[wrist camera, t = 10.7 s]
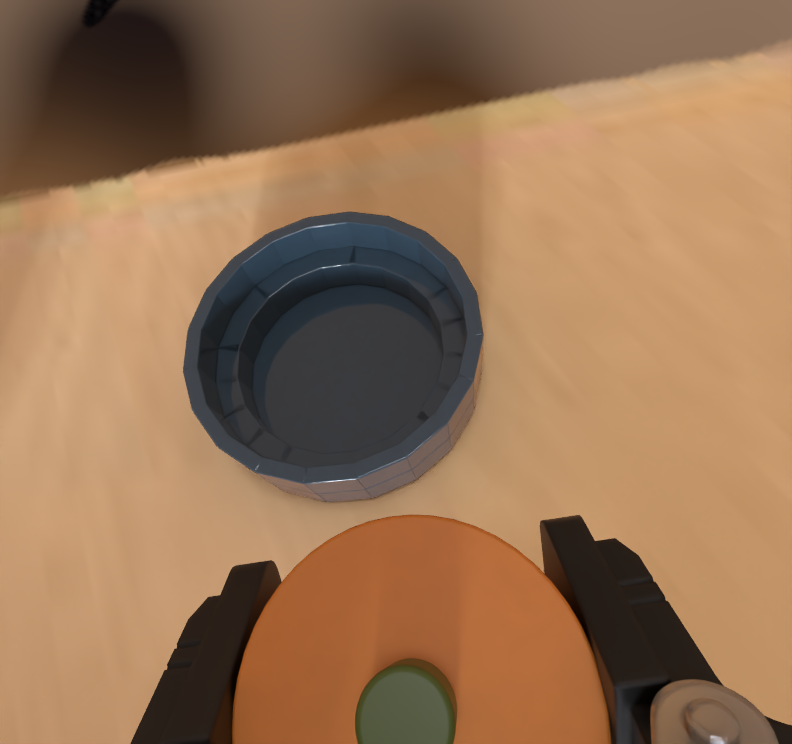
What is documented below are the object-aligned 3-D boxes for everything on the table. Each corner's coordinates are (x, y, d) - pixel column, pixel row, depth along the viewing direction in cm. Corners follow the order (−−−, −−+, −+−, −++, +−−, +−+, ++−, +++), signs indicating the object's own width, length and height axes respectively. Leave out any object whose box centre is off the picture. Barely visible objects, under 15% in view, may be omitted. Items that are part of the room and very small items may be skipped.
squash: (312, 749, 13) (115, 917, 6) (369, 537, 15) (276, 462, 8) (524, 825, 12) (614, 1154, 5) (557, 586, 14) (656, 552, 7)
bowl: (184, 468, 31) (134, 443, 26) (274, 250, 37) (246, 199, 32) (449, 533, 27) (444, 517, 23) (501, 281, 33) (506, 229, 29)
